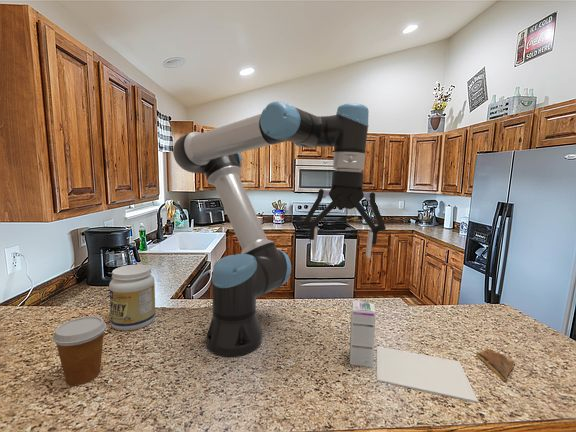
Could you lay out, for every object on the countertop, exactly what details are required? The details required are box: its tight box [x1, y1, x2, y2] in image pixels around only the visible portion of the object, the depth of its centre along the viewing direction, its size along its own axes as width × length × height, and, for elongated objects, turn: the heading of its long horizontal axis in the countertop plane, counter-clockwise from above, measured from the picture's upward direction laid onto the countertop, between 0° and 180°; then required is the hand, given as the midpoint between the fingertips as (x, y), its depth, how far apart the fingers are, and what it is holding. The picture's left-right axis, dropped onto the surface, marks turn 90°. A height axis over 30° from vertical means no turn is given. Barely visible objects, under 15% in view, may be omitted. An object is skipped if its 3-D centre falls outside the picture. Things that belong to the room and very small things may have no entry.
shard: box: [475, 348, 516, 382], centre depth 72 cm, size 11×8×2 cm
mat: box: [376, 345, 479, 404], centre depth 69 cm, size 20×14×1 cm
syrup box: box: [349, 300, 377, 369], centre depth 72 cm, size 6×6×14 cm
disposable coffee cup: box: [52, 315, 107, 386], centre depth 63 cm, size 10×10×12 cm
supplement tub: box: [108, 264, 156, 332], centre depth 87 cm, size 12×12×17 cm
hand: (341, 254), depth 73 cm, fingers open, 13 cm apart
